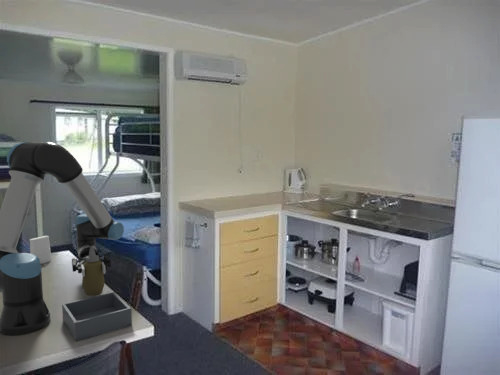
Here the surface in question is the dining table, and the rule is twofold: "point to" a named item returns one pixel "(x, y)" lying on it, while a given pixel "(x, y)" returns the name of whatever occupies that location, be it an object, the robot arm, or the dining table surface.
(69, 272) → the dining table surface
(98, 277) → the squeeze bottle
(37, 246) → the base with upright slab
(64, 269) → the dining table surface
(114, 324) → the box
